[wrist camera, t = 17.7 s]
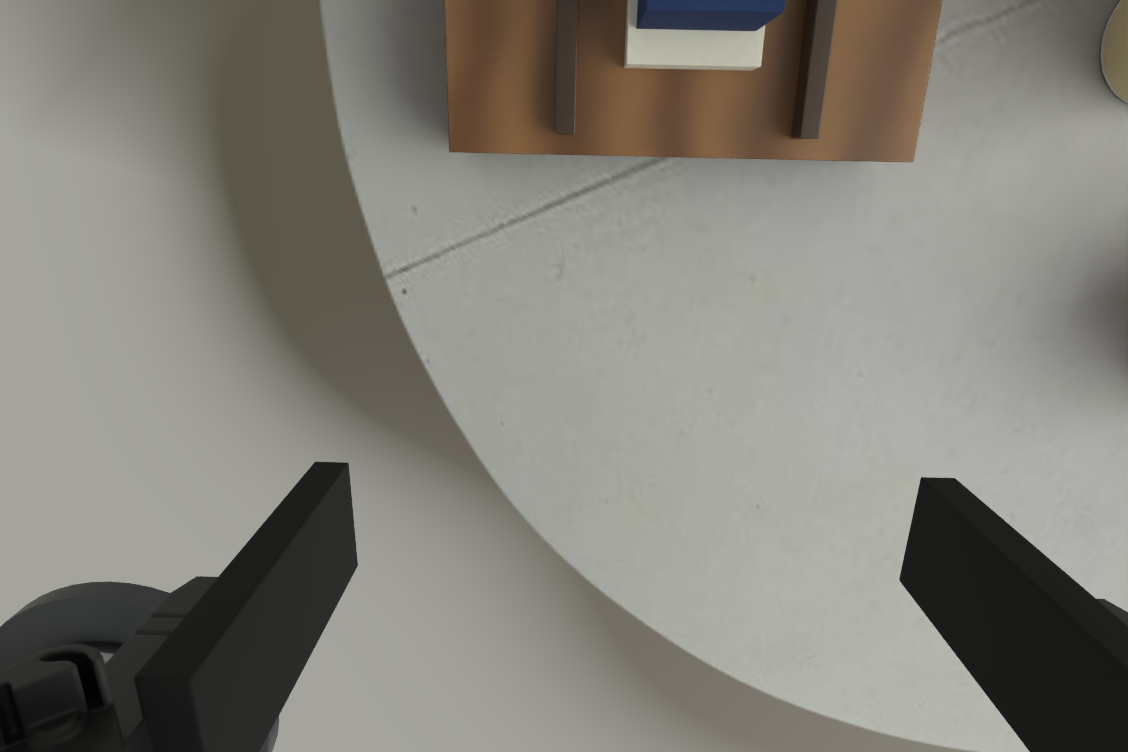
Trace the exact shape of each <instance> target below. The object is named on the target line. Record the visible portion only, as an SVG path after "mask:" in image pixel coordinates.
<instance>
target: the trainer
mask: <svg viewBox="0 0 1128 752" xmlns="http://www.w3.org/2000/svg"><path fill="white" fill-rule="evenodd" d="M784 9H785V0H627V8H626V30H625V52H624V68H647V69H695V70H743V71H752V70H754V69H757V68H759V67H761V61H762V51H763V42H764V32H765V25H766V24H767V23H769V22H770V21H772V20H773V19H775V18H776V17H778V16H779V15H781V14H782V13H784Z"/></svg>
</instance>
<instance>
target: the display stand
mask: <svg viewBox="0 0 1128 752" xmlns="http://www.w3.org/2000/svg"><path fill="white" fill-rule="evenodd" d="M941 5H942V0H785V9H784V13H782V14H781V15H779V16H778V17H776V18H775V19H773V20H772V21H770V22H769V23H767V24H766V25H765V32H764V42H763V51H762V61H761V67H759V68H757V69H754V70H752V71H743V70H695V69H647V68H624V52H625V30H626V8H627V0H445V29H446V60H447V91H448V122H449V151H450V152H465V153H511V154H557V155H603V156H648V157H694V158H740V159H786V160H832V161H877V162H913V161H914V156H915V151H916V145H917V140H918V134H919V128H920V123H921V117H922V112H923V106H924V101H925V95H926V89H927V84H928V78H929V73H930V67H931V61H932V56H933V50H934V45H935V39H936V33H937V28H938V22H939V17H940V11H941Z"/></svg>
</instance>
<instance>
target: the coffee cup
mask: <svg viewBox="0 0 1128 752" xmlns="http://www.w3.org/2000/svg"><path fill="white" fill-rule="evenodd" d="M1100 58H1101V67H1102V71H1103V75H1104V77H1105V80H1106V82H1107V84H1108V86H1109V87H1110V89H1111V90H1112V91H1113V93H1114V94H1115V95H1116V96H1117V97H1118V98H1120V99H1121V100H1123V101H1124V102H1125V103H1127V104H1128V0H1120V1H1119V3H1118V4H1117V6H1116V7H1115V9H1114V10H1113V12H1112V14H1111V16H1110V18H1109V20H1108V22H1107V25H1106V28H1105V31H1104V34H1103V37H1102V42H1101V53H1100Z"/></svg>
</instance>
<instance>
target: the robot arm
mask: <svg viewBox="0 0 1128 752" xmlns="http://www.w3.org/2000/svg"><path fill="white" fill-rule="evenodd" d="M357 566H358V563H357V553H356V542H355V530H354V519H353V508H352V497H351V486H350V476H349V464H348V463H335V462H315V463H314V464H313V465H312V466H311V468H310V469H309V470H308V471H307V472H306V474H305V475H304V476H303V477H302V478H301V479H300V481H299V482H298V483H297V484H296V485H295V487H294V488H293V489H292V490H291V491H290V493H289V494H288V495H287V496H286V497H285V498H284V500H283V501H282V502H281V503H280V504H279V506H278V507H277V508H276V509H275V510H274V511H273V513H272V514H271V515H270V516H269V517H268V519H267V520H266V521H265V522H264V523H263V525H262V526H261V527H260V528H259V529H258V530H257V532H256V533H255V534H254V535H253V536H252V538H251V539H250V540H249V541H248V542H247V544H246V545H245V546H244V547H243V548H242V550H241V551H240V552H239V553H238V554H237V555H236V557H235V558H234V559H233V560H232V561H231V563H230V564H229V565H228V566H227V567H226V569H225V570H224V571H223V572H222V573H221V575H220V576H219V577H195V578H194V579H192V580H190V581H189V582H187V583H186V584H184V585H183V586H181V587H179V588H178V589H176V590H175V591H173V592H171V593H170V594H169V595H168V596H167V597H166V598H165V599H164V600H163V601H162V603H161V604H160V605H159V606H158V607H157V608H156V609H155V610H154V611H153V612H152V613H151V617H150V618H147V619H146V620H145V621H144V622H143V623H142V624H141V625H140V626H139V628H138V629H137V630H136V633H135V635H131V636H130V637H129V638H128V640H127V641H126V642H125V643H124V644H122V643H115V642H103V641H101V642H84V643H78V644H69V645H60V646H56V647H52V648H48V649H44V650H41V651H38V652H36V653H34V654H31V655H29V656H27V657H25V658H22V659H20V660H18V661H16V662H15V663H13V664H12V665H10V666H9V667H7V668H6V669H4V670H3V671H1V672H0V752H260V750H261V748H262V746H263V744H264V743H265V741H266V739H267V737H268V735H269V733H270V731H271V729H272V727H273V725H274V724H275V722H276V720H277V718H278V716H279V714H280V712H281V710H282V708H283V706H284V705H285V703H286V701H287V699H288V697H289V695H290V693H291V691H292V689H293V687H294V686H295V684H296V682H297V680H298V678H299V676H300V674H301V672H302V670H303V668H304V667H305V665H306V663H307V661H308V659H309V657H310V655H311V653H312V651H313V649H314V648H315V646H316V644H317V642H318V640H319V638H320V636H321V634H322V632H323V630H324V629H325V627H326V625H327V623H328V621H329V619H330V617H331V615H332V613H333V612H334V610H335V608H336V606H337V604H338V602H339V600H340V598H341V596H342V594H343V593H344V591H345V589H346V587H347V585H348V583H349V581H350V579H351V577H352V575H353V574H354V572H355V570H356V568H357ZM899 580H900V582H901V583H902V584H903V586H904V587H905V588H906V590H907V591H908V592H909V593H910V595H911V596H912V597H913V599H914V600H915V601H916V603H917V604H918V605H919V607H920V608H921V609H922V611H923V612H924V613H925V615H926V616H927V617H928V618H929V620H930V621H931V622H932V624H933V625H934V626H935V628H936V629H937V630H938V632H939V633H940V634H941V636H942V637H943V638H944V639H945V641H946V642H947V643H948V645H949V646H950V647H951V649H952V650H953V651H954V653H955V654H956V655H957V657H958V658H959V659H960V660H961V662H962V663H963V664H964V666H965V667H966V668H967V670H968V671H969V672H970V674H971V675H972V676H973V678H974V679H975V680H976V682H977V683H978V684H979V685H980V687H981V688H982V689H983V691H984V692H985V693H986V695H987V696H988V697H989V699H990V700H991V701H992V703H993V704H994V705H995V706H996V708H997V709H998V710H999V712H1000V713H1001V714H1002V716H1003V717H1004V718H1005V720H1006V721H1007V722H1008V724H1009V725H1010V726H1011V728H1012V729H1013V730H1014V731H1015V733H1016V734H1017V735H1018V737H1019V738H1020V739H1021V741H1022V742H1023V743H1024V745H1025V746H1026V747H1027V749H1028V750H1029V751H1030V752H1128V612H1126V611H1124V610H1123V609H1121V608H1119V607H1117V606H1115V605H1114V604H1112V603H1110V602H1108V601H1106V600H1105V599H1095V598H1094V597H1093V596H1092V595H1091V594H1090V593H1088V592H1087V591H1086V590H1085V589H1084V588H1083V587H1081V586H1080V585H1079V584H1078V583H1077V582H1076V581H1074V580H1073V579H1072V578H1071V577H1070V576H1069V575H1067V574H1066V573H1065V572H1064V571H1063V570H1062V569H1060V568H1059V567H1058V566H1057V565H1056V564H1055V563H1053V562H1052V561H1051V560H1050V559H1049V558H1047V557H1046V556H1045V555H1044V554H1043V553H1042V552H1040V551H1039V550H1038V549H1037V548H1036V547H1035V546H1033V545H1032V544H1031V543H1030V542H1029V541H1028V540H1026V539H1025V538H1024V537H1023V536H1022V535H1021V534H1019V533H1018V532H1017V531H1016V530H1015V529H1014V528H1012V527H1011V526H1010V525H1009V524H1008V523H1007V522H1005V521H1004V520H1003V519H1002V518H1001V517H999V516H998V515H997V514H996V513H995V512H994V511H992V510H991V509H990V508H989V507H988V506H987V505H985V504H984V503H983V502H982V501H981V500H980V499H978V498H977V497H976V496H975V495H974V494H973V493H971V492H970V491H969V490H968V489H967V488H966V487H964V486H963V485H962V484H961V483H960V482H959V481H957V480H956V479H955V478H924V477H921V480H920V485H919V490H918V494H917V499H916V504H915V508H914V513H913V518H912V523H911V527H910V532H909V537H908V541H907V546H906V551H905V555H904V560H903V565H902V570H901V574H900V579H899Z"/></svg>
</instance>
